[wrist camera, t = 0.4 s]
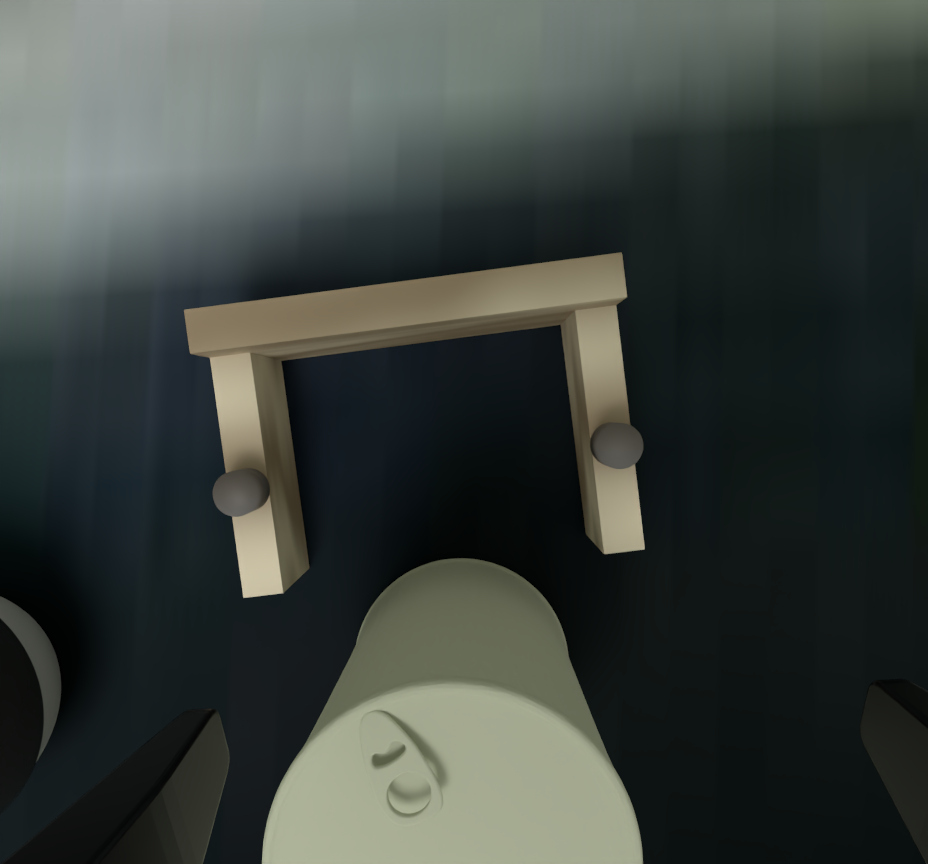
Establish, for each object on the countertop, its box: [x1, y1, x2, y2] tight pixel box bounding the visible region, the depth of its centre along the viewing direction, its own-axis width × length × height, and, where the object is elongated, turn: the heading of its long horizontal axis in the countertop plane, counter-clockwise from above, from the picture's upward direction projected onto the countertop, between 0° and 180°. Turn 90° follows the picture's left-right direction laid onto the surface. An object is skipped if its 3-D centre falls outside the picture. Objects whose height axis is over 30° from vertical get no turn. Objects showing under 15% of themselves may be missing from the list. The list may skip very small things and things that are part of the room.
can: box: [262, 558, 643, 864], centre depth 19 cm, size 9×9×12 cm
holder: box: [184, 252, 645, 598], centre depth 22 cm, size 10×15×5 cm
